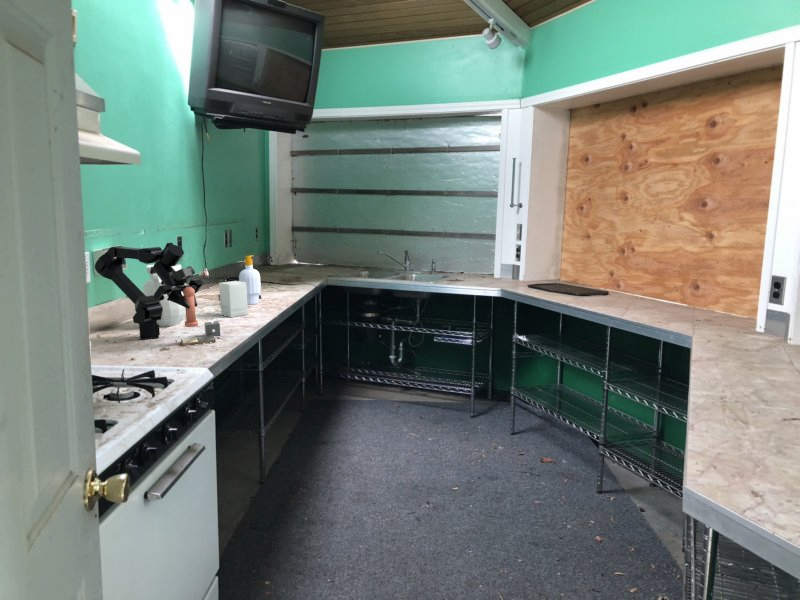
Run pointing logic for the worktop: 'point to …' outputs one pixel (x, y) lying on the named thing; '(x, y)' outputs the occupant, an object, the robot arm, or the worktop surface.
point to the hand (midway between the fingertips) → (192, 306)
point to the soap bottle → (251, 281)
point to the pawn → (190, 312)
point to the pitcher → (165, 300)
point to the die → (212, 328)
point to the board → (198, 340)
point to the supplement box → (233, 298)
